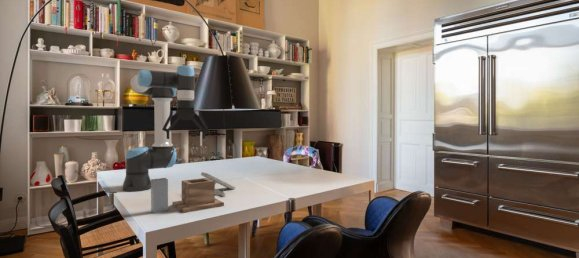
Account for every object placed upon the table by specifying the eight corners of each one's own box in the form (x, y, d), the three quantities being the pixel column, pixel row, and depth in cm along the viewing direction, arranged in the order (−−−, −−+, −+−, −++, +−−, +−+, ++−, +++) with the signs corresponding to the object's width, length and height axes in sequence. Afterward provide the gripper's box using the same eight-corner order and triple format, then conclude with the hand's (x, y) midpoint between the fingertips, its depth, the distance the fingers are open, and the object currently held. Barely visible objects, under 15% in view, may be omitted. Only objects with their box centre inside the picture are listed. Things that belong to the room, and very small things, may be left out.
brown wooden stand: (172, 205, 151) (172, 180, 151) (210, 199, 163) (210, 176, 162) (183, 212, 139) (183, 186, 139) (223, 205, 151) (224, 181, 150)
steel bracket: (151, 211, 141) (150, 179, 141) (165, 208, 145) (165, 177, 144) (153, 213, 138) (153, 180, 138) (168, 211, 142) (167, 179, 141)
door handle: (223, 198, 187) (195, 185, 175) (229, 185, 189) (201, 171, 178) (240, 204, 174) (211, 190, 162) (246, 190, 176) (218, 175, 164)
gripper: (155, 98, 141) (156, 147, 142) (214, 100, 149) (214, 146, 150) (157, 99, 149) (157, 145, 149) (212, 100, 156) (212, 144, 157)
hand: (185, 146), depth 150 cm, fingers open, 13 cm apart
